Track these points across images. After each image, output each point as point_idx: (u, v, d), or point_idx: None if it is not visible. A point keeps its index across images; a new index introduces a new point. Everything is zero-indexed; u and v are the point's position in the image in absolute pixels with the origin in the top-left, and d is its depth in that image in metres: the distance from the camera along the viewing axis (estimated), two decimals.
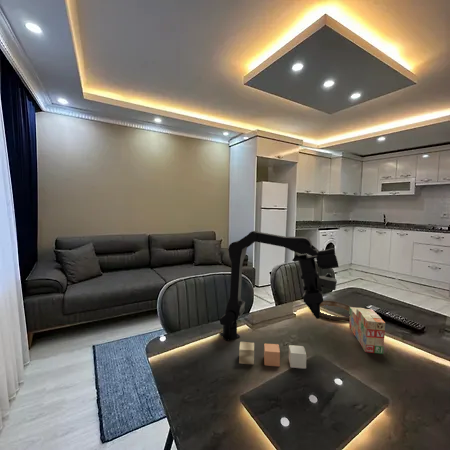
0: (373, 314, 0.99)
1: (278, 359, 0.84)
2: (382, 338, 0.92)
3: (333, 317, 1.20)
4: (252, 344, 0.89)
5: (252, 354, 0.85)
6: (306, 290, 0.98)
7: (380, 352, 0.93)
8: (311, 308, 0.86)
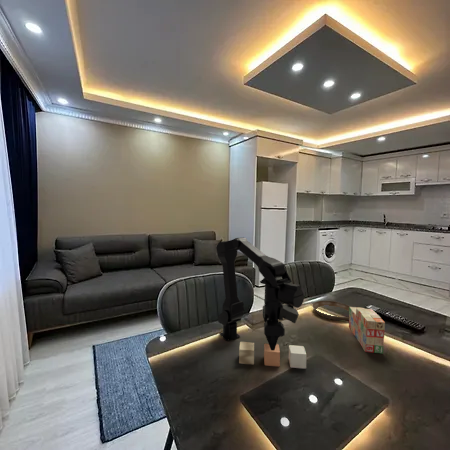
0: (373, 314, 0.99)
1: (278, 359, 0.84)
2: (382, 338, 0.93)
3: (333, 317, 1.20)
4: (252, 344, 0.89)
5: (252, 354, 0.85)
6: (263, 314, 0.93)
7: (380, 352, 0.93)
8: (269, 339, 0.81)
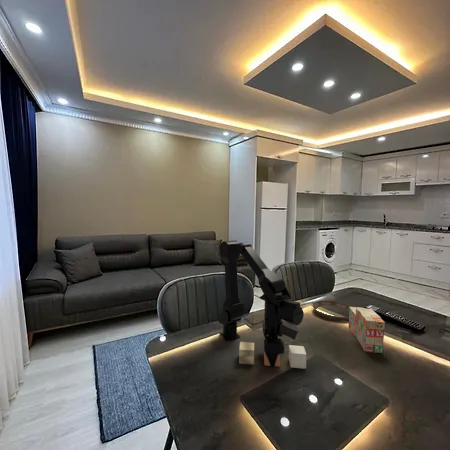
0: (372, 314, 0.99)
1: (278, 359, 0.84)
2: (382, 337, 0.93)
3: (333, 317, 1.20)
4: (252, 344, 0.89)
5: (252, 354, 0.85)
6: (263, 329, 0.93)
7: (380, 351, 0.93)
8: (268, 356, 0.81)
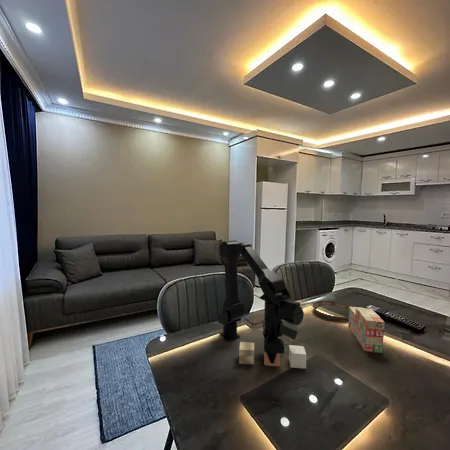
0: (372, 313, 0.99)
1: (278, 359, 0.84)
2: (381, 337, 0.93)
3: (333, 317, 1.20)
4: (252, 344, 0.89)
5: (252, 354, 0.85)
6: (263, 332, 0.91)
7: (379, 351, 0.93)
8: (268, 353, 0.83)
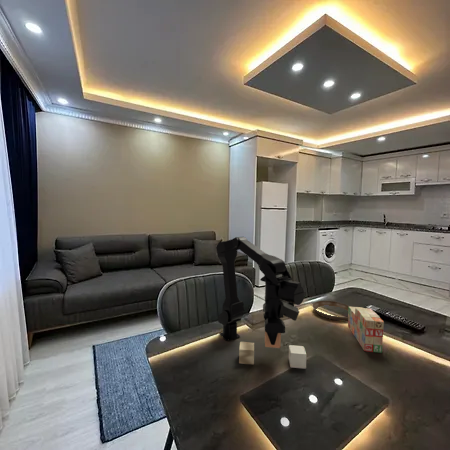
0: (372, 313, 0.99)
1: (279, 340, 0.84)
2: (381, 337, 0.93)
3: (333, 317, 1.20)
4: (252, 344, 0.89)
5: (252, 354, 0.85)
6: (264, 314, 0.91)
7: (379, 351, 0.94)
8: (269, 334, 0.82)
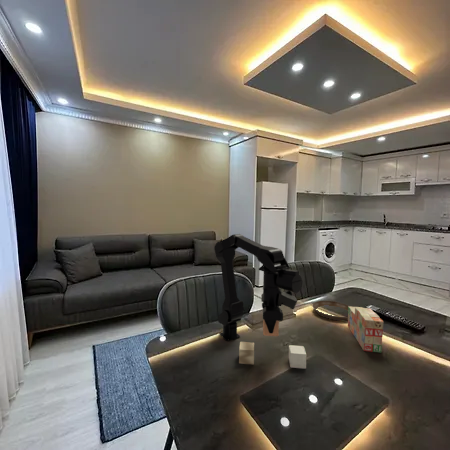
0: (371, 313, 1.00)
1: (277, 329, 0.85)
2: (380, 337, 0.93)
3: (333, 317, 1.20)
4: (252, 344, 0.89)
5: (252, 354, 0.85)
6: (262, 304, 0.92)
7: (378, 351, 0.94)
8: (267, 322, 0.83)
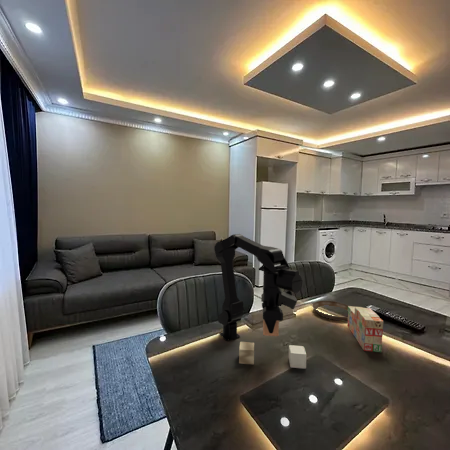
0: (371, 313, 1.00)
1: (277, 329, 0.85)
2: (380, 336, 0.93)
3: (333, 317, 1.20)
4: (252, 344, 0.89)
5: (252, 354, 0.85)
6: (262, 304, 0.92)
7: (378, 350, 0.94)
8: (267, 322, 0.83)
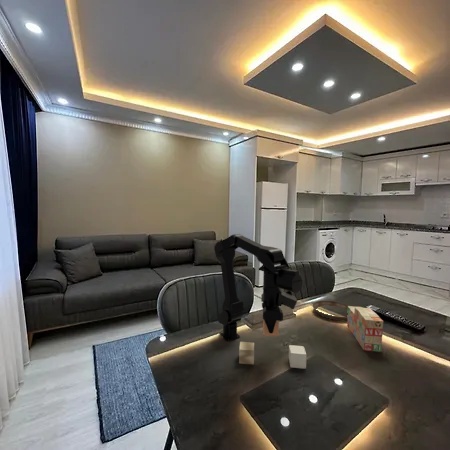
0: (371, 313, 1.00)
1: (277, 329, 0.85)
2: (380, 336, 0.94)
3: (333, 317, 1.20)
4: (252, 344, 0.89)
5: (252, 354, 0.85)
6: (262, 304, 0.92)
7: (378, 350, 0.94)
8: (267, 322, 0.83)
